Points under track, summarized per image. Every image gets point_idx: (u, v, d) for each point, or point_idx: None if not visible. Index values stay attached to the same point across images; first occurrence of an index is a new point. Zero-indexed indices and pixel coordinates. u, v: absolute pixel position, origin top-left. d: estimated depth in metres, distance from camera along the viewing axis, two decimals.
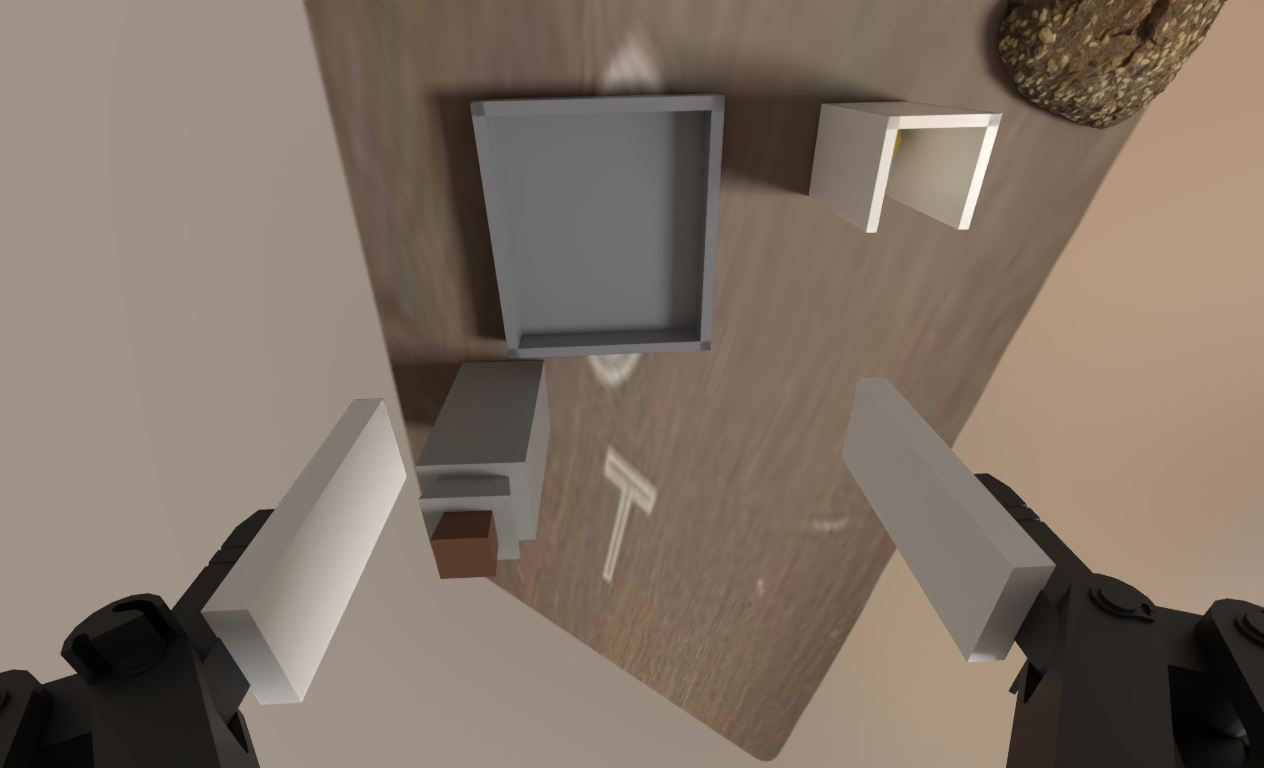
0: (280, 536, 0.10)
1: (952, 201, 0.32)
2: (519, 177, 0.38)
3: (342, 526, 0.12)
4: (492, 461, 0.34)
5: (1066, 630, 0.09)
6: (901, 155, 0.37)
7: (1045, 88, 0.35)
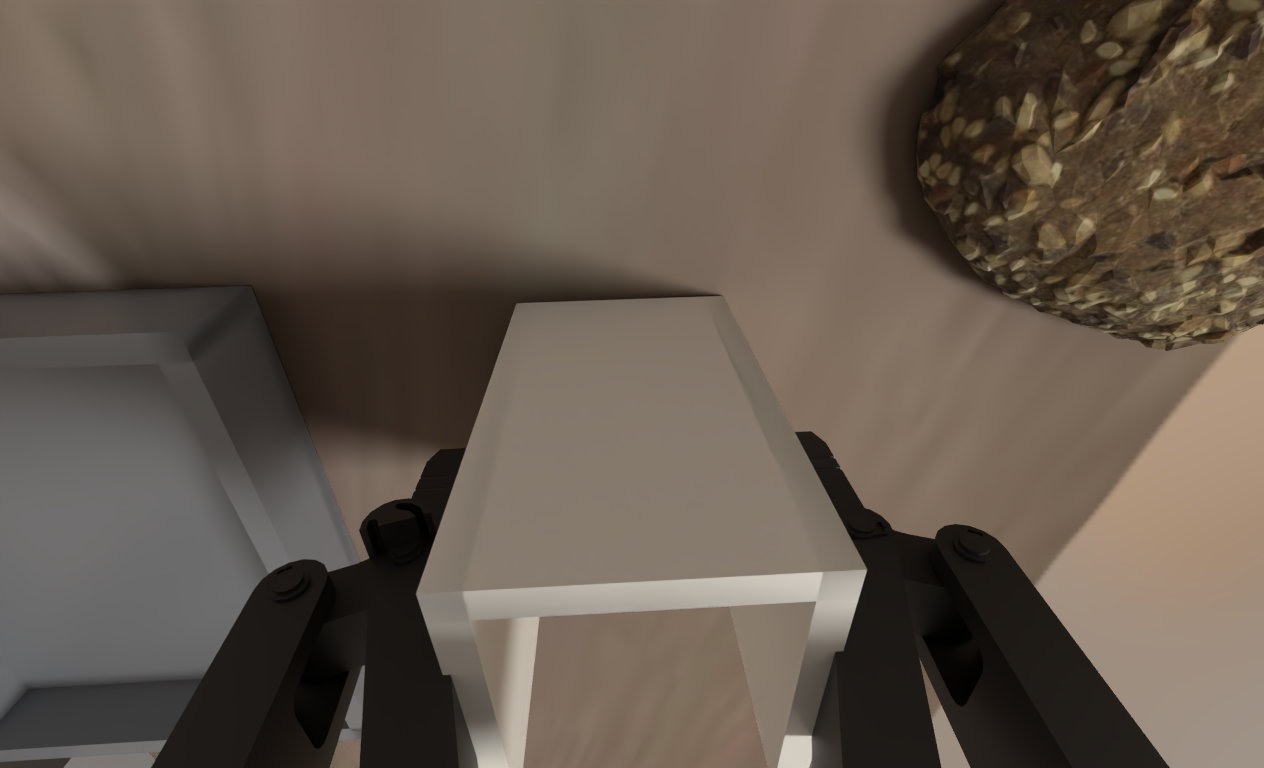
0: None
1: (763, 685, 0.11)
2: None
3: None
4: None
5: None
6: None
7: (1032, 280, 0.14)
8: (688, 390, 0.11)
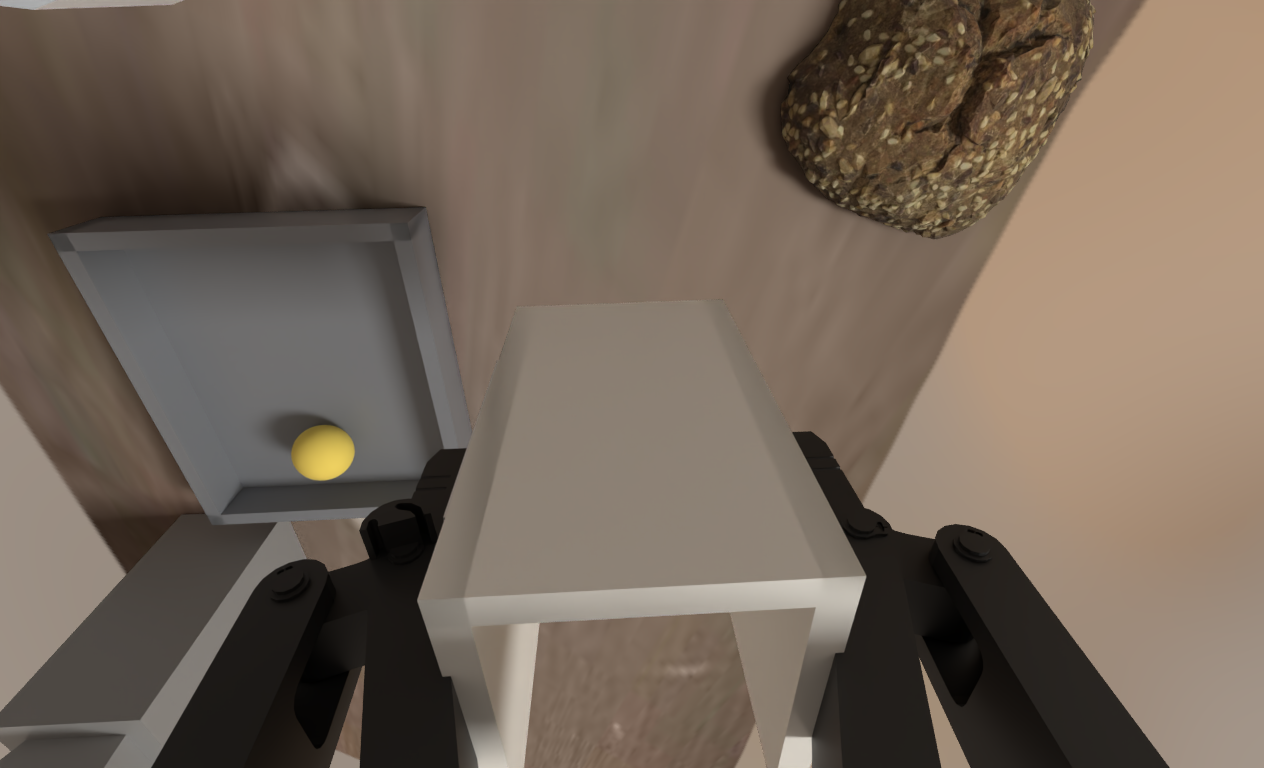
0: None
1: (763, 689, 0.11)
2: (181, 312, 0.29)
3: None
4: (95, 719, 0.25)
5: None
6: None
7: (845, 193, 0.26)
8: (688, 395, 0.11)
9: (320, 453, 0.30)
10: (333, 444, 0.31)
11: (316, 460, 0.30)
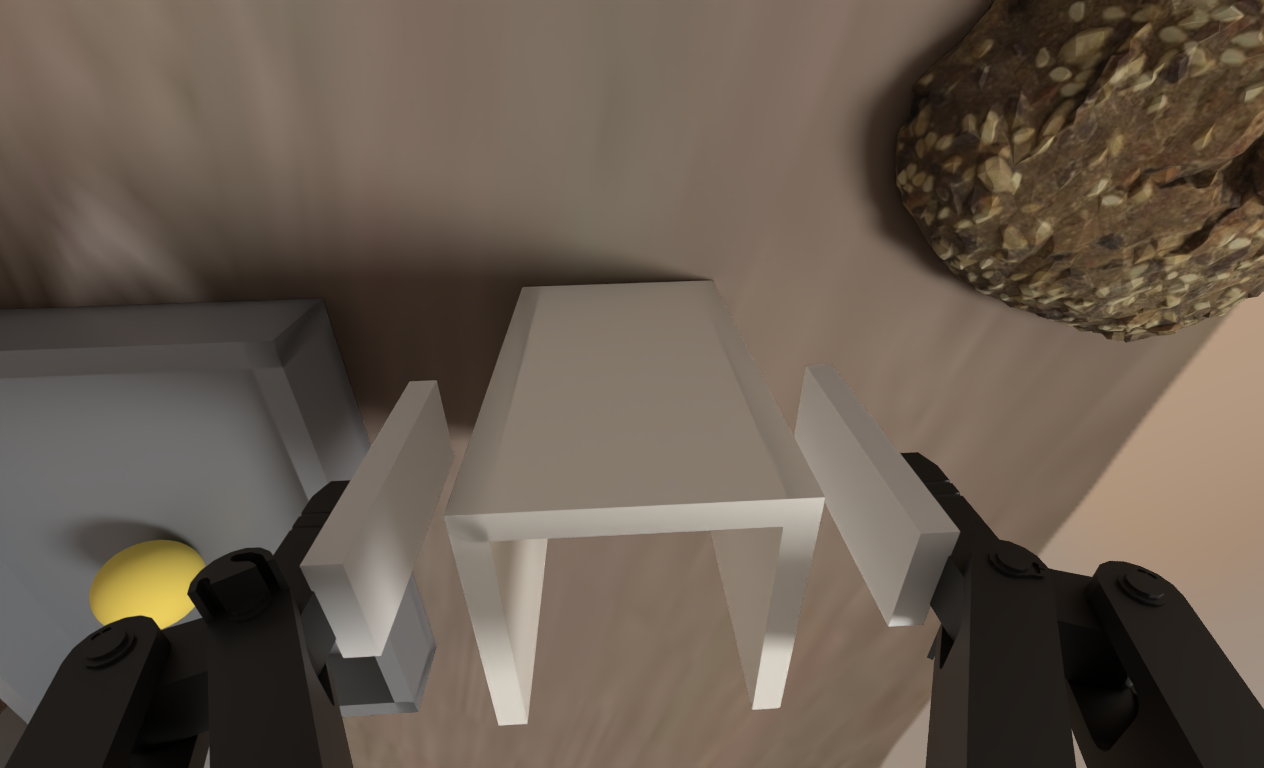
0: (361, 501, 0.11)
1: (744, 620, 0.12)
2: None
3: (408, 497, 0.13)
4: None
5: (970, 596, 0.09)
6: None
7: (1000, 277, 0.16)
8: (678, 359, 0.13)
9: None
10: (200, 556, 0.21)
11: (169, 540, 0.20)
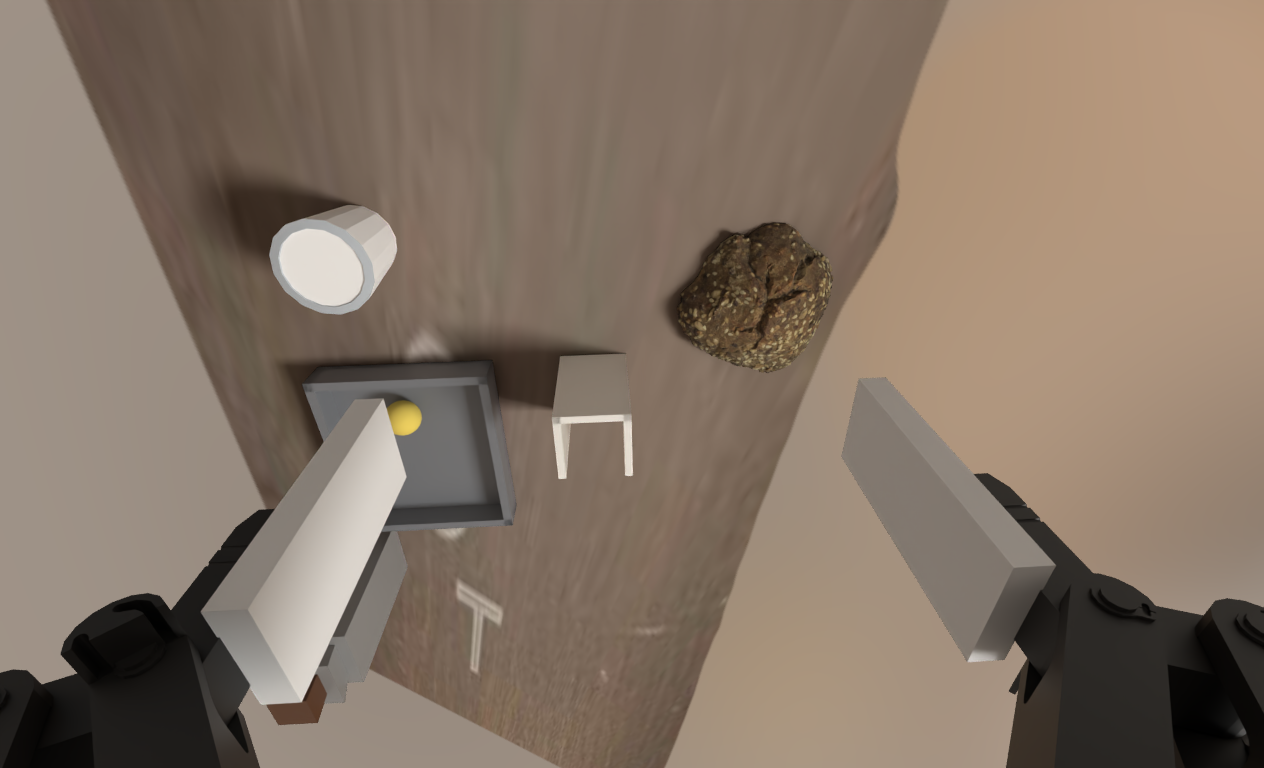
0: (280, 536, 0.10)
1: (624, 453, 0.45)
2: None
3: (342, 526, 0.12)
4: None
5: (1066, 630, 0.09)
6: None
7: (713, 353, 0.48)
8: (607, 383, 0.45)
9: (406, 429, 0.49)
10: (411, 422, 0.49)
11: (404, 432, 0.49)
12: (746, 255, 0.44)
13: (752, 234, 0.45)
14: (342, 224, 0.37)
